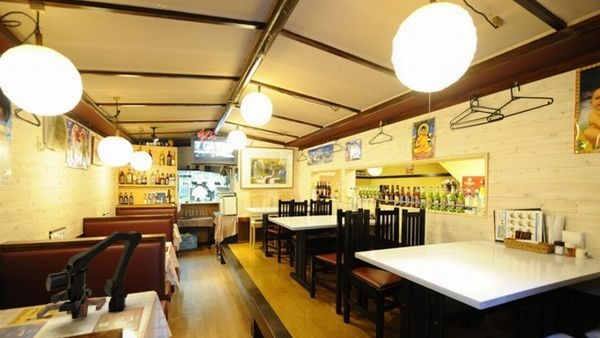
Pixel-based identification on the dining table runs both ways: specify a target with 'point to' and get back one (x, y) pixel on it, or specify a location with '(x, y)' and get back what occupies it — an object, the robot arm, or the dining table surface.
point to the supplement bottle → (83, 309)
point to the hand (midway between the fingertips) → (75, 318)
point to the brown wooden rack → (52, 306)
